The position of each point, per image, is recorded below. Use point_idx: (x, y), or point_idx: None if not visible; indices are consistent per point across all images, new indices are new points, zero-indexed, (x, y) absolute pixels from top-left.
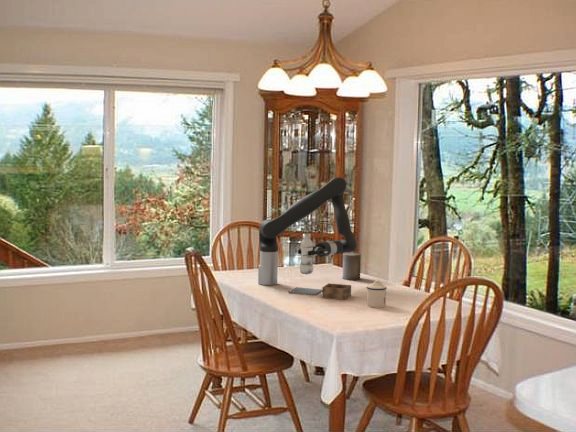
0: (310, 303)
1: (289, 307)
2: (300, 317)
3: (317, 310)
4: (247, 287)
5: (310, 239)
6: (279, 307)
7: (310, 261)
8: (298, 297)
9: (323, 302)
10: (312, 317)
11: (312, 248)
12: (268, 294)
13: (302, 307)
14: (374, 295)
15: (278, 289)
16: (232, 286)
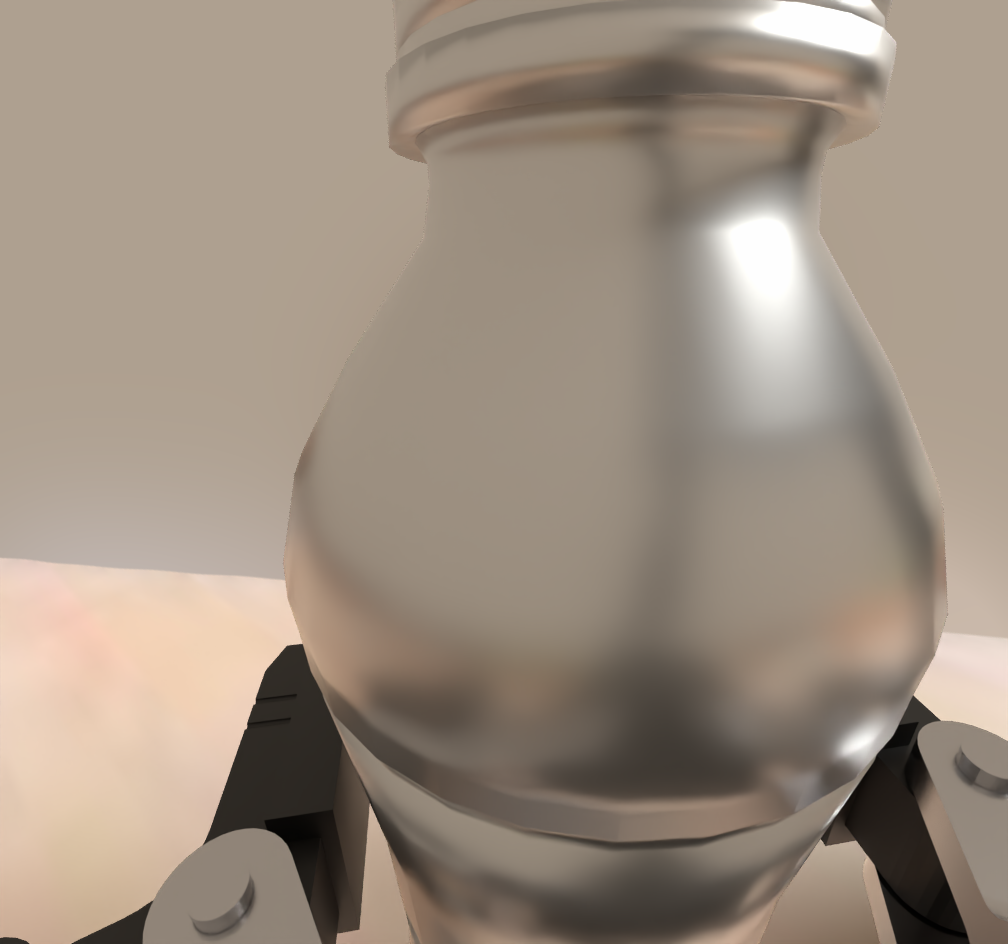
0: (141, 777)
1: (232, 617)
2: (77, 567)
3: (7, 692)
4: (917, 696)
5: (443, 263)
6: (283, 586)
7: (409, 930)
8: (367, 832)
9: (9, 917)
10: (4, 598)
11: (332, 713)
12: None
13: (152, 666)
14: None
15: (806, 892)
16: (952, 637)
